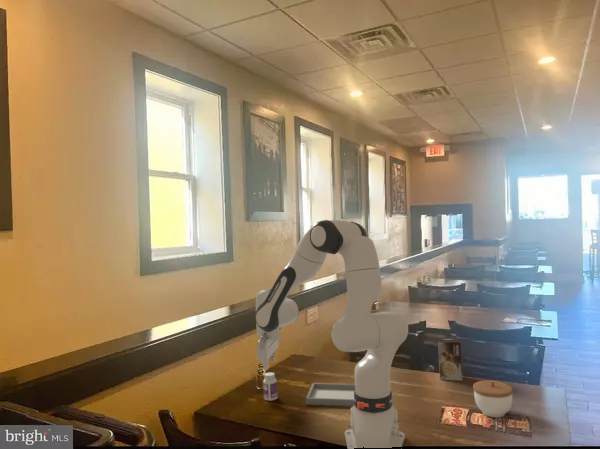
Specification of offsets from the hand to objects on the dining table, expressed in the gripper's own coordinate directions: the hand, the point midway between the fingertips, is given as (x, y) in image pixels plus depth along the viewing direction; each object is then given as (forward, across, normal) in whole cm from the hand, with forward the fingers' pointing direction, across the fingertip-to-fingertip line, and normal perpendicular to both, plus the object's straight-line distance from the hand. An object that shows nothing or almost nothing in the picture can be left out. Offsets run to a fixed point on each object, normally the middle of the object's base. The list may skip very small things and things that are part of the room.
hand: (269, 365), depth 181 cm
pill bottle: (+13, -1, 0) cm, 13 cm away
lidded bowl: (+12, -6, -81) cm, 83 cm away
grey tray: (+13, +2, -26) cm, 29 cm away
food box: (+13, +28, -71) cm, 77 cm away
